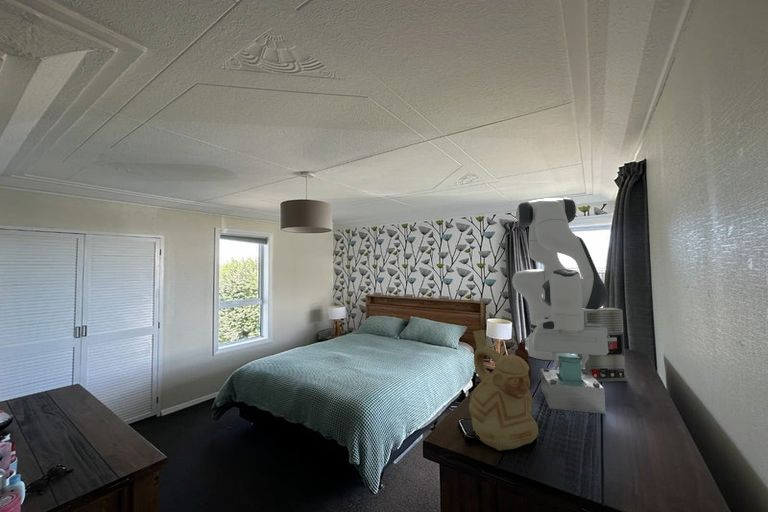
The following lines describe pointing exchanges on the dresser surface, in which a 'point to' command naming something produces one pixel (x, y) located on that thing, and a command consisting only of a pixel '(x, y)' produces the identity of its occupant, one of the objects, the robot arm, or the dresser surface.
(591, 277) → the robot arm
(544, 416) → the dresser surface
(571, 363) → the cover plug
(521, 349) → the wooden figurine
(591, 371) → the cassette tape recorder
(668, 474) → the dresser surface
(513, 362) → the ceramic vessel
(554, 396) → the housing
